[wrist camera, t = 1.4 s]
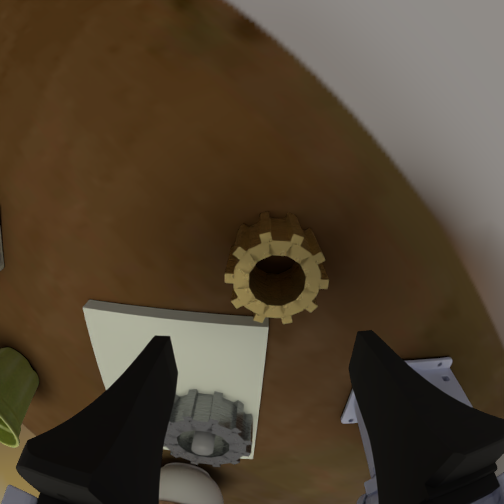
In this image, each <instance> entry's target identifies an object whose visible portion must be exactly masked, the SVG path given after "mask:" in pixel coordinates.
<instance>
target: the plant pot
mask: <svg viewBox="0 0 504 504" xmlns="http://www.w3.org/2000/svg"><path fill="white" fill-rule="evenodd" d="M38 385H39V378H38V375H37V373H36V372H35V371H34V370H33V369H32V368H31V366H30V364H29V362H28V360H27V359H26V358H25V357H24V356H23V355H21V354H20V353H19V352H17V351H16V350H14V349H12V348H9V347H6V348H1V349H0V442H1V443H3V444H4V445H7V446H9V447H13V448H15V447H18V446H19V443H20V441H19V434H20V431H21V427H20V426H21V424H22V421H23V419H24V417H25V414H26V412H27V409H28V407H29V405H30V402H31V400H32V398H33V396H34V394H35V391H36V389H37V387H38Z"/></svg>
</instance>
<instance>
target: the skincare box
mask: <svg viewBox="0 0 504 504" xmlns="http://www.w3.org/2000/svg"><path fill="white" fill-rule="evenodd" d="M3 268H4V259H3V250H2V240H1V227H0V271H1V270H2V269H3Z"/></svg>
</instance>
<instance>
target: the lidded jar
mask: <svg viewBox="0 0 504 504" xmlns="http://www.w3.org/2000/svg"><path fill="white" fill-rule="evenodd" d="M159 504H224V501H223V496H222V493H221V491H220V488H219V487H218V485H217V484H216V482H215V481H214V480H213V479H212V478H211V477H210V475H209V473H208V472H207V471H205V470H204V469H202V468H200V467H197V466H194V465H191V464H186V463H177V462H176V463H168V464H166V465H164V467H161V472H160V486H159Z"/></svg>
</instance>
